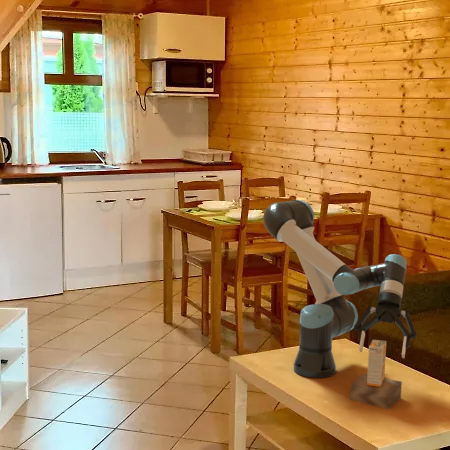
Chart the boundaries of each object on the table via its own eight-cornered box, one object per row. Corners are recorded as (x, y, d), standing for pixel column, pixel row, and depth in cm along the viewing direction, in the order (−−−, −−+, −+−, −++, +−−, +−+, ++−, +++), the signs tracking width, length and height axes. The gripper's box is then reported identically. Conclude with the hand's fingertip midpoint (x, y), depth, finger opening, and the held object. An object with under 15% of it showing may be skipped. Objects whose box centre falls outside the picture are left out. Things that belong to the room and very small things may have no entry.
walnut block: (350, 400, 231) (351, 383, 230) (363, 390, 240) (364, 373, 239) (388, 410, 224) (389, 392, 223) (400, 399, 233) (401, 381, 232)
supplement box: (381, 387, 227) (383, 348, 225) (366, 385, 228) (368, 346, 226) (384, 378, 235) (387, 340, 233) (370, 376, 236) (372, 338, 234)
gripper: (428, 306, 240) (421, 363, 229) (354, 297, 249) (344, 353, 238) (428, 295, 234) (421, 353, 223) (352, 286, 243) (342, 343, 232)
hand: (381, 353), depth 230 cm, fingers open, 13 cm apart
